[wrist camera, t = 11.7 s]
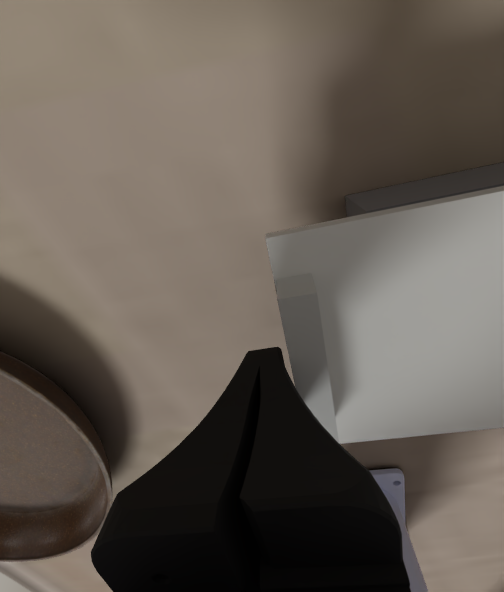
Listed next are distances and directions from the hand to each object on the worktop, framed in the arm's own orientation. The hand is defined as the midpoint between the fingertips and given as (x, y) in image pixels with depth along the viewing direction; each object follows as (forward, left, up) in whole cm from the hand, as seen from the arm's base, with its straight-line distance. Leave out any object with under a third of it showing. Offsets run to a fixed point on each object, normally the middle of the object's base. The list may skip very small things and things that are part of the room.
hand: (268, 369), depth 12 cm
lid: (0, -6, -1) cm, 6 cm away
